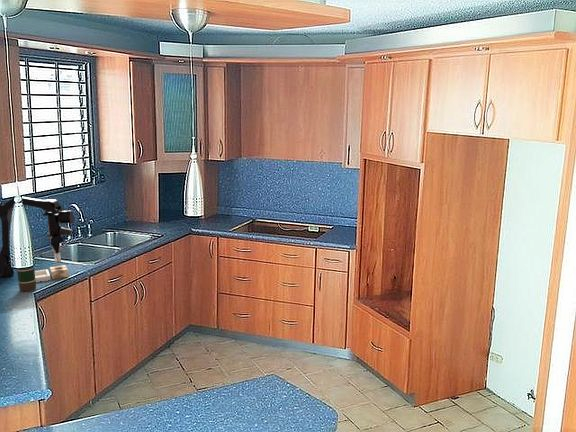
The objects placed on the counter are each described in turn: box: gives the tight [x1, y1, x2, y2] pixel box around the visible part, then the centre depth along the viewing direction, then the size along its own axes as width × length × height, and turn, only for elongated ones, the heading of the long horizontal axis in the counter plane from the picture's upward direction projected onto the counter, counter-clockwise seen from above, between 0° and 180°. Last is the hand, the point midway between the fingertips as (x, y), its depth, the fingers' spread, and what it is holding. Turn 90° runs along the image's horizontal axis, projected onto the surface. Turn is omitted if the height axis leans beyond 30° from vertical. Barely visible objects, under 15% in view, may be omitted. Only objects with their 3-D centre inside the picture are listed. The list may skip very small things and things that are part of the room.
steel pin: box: [51, 244, 62, 264], centre depth 308 cm, size 4×4×9 cm
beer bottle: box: [16, 265, 37, 293], centre depth 285 cm, size 8×8×24 cm
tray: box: [34, 269, 52, 283], centre depth 305 cm, size 11×14×2 cm
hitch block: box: [49, 264, 69, 280], centre depth 310 cm, size 8×10×4 cm
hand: (56, 252), depth 308 cm, fingers closed on steel pin, 4 cm apart
